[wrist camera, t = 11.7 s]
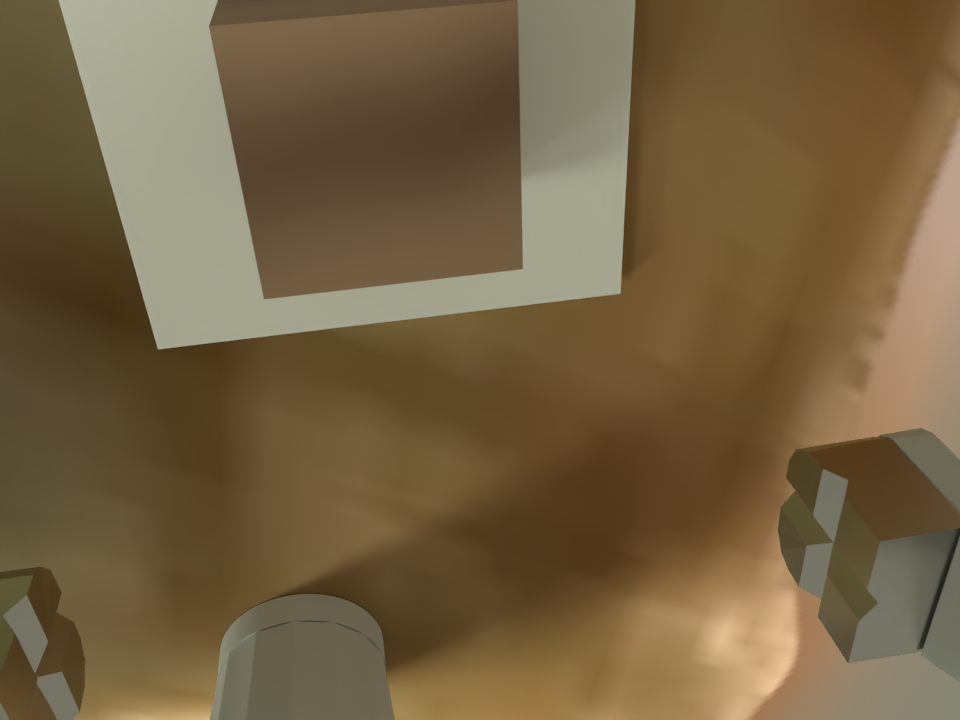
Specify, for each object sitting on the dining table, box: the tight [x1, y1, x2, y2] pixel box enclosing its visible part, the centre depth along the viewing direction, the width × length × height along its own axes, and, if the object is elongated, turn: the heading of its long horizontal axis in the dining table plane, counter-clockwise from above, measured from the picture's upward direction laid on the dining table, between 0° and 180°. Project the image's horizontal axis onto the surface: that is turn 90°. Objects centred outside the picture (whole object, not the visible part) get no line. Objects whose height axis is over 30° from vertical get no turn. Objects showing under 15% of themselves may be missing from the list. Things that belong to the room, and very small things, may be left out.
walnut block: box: [209, 0, 523, 299], centre depth 21 cm, size 6×6×5 cm
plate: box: [59, 0, 635, 349], centre depth 24 cm, size 14×14×1 cm
